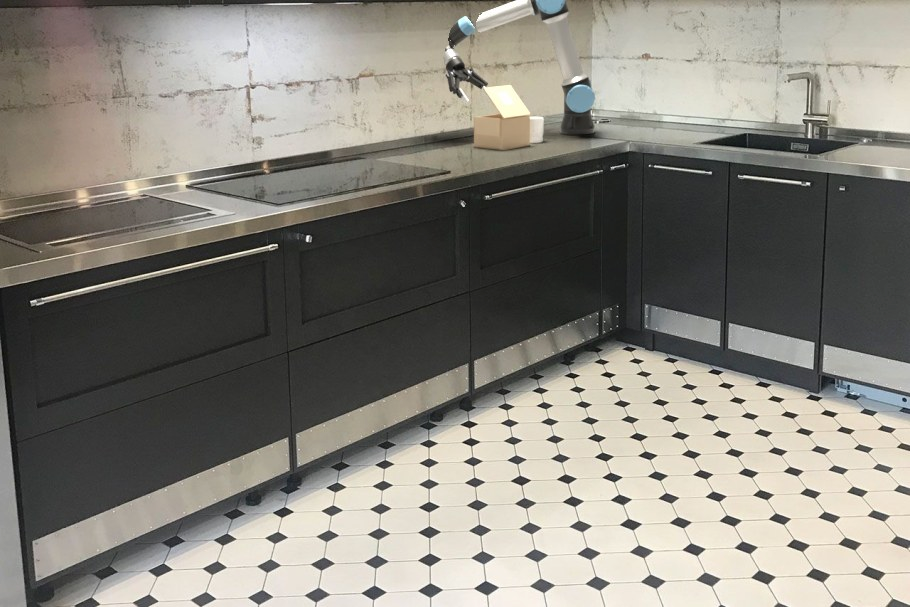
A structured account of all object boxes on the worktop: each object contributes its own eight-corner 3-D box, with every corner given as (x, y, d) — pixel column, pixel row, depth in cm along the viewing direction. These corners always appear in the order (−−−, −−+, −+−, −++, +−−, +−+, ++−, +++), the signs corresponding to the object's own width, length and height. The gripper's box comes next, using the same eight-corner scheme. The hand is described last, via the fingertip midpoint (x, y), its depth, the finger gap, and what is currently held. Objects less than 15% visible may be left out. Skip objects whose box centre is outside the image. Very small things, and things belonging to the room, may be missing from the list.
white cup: (544, 143, 423) (544, 118, 420) (525, 143, 423) (525, 119, 420) (543, 140, 430) (543, 116, 427) (524, 140, 430) (524, 116, 427)
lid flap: (482, 88, 407) (483, 87, 406) (509, 85, 417) (510, 84, 416) (503, 118, 402) (504, 117, 402) (529, 115, 412) (530, 113, 412)
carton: (473, 147, 417) (472, 116, 413) (502, 142, 428) (501, 112, 424) (501, 150, 405) (501, 118, 402) (530, 145, 416) (530, 114, 413)
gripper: (470, 67, 437) (495, 104, 431) (426, 71, 421) (452, 110, 415) (478, 54, 432) (504, 92, 426) (434, 58, 416) (460, 97, 410)
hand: (478, 101), depth 420 cm, fingers open, 13 cm apart
